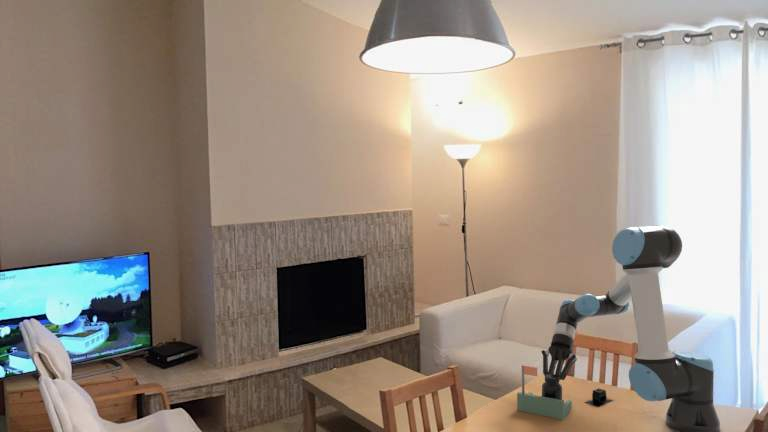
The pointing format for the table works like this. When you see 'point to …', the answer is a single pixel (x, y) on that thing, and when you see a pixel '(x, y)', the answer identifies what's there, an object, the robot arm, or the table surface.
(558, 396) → the supplement bottle
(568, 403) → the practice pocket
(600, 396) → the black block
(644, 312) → the robot arm
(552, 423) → the table surface
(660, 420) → the table surface
